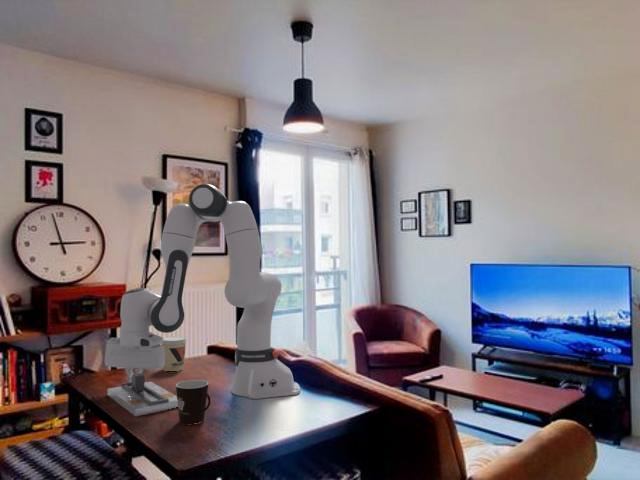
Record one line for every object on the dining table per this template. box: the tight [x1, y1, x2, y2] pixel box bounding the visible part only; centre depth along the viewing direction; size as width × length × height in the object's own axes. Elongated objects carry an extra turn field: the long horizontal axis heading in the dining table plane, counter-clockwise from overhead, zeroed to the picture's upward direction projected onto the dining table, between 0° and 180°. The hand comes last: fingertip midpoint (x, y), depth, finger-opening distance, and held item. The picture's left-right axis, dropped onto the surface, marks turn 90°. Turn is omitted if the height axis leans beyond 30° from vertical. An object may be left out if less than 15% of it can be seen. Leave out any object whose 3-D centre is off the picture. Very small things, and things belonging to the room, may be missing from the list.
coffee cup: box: [161, 336, 187, 372], centre depth 191 cm, size 9×9×12 cm
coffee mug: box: [175, 379, 211, 424], centre depth 132 cm, size 12×9×10 cm
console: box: [107, 381, 178, 417], centre depth 151 cm, size 26×14×3 cm, turn 39°
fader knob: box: [132, 373, 146, 391], centre depth 155 cm, size 4×3×4 cm
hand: (134, 381), depth 158 cm, fingers closed
